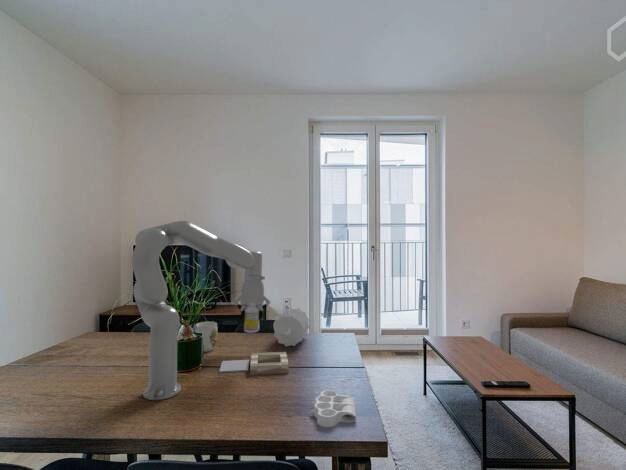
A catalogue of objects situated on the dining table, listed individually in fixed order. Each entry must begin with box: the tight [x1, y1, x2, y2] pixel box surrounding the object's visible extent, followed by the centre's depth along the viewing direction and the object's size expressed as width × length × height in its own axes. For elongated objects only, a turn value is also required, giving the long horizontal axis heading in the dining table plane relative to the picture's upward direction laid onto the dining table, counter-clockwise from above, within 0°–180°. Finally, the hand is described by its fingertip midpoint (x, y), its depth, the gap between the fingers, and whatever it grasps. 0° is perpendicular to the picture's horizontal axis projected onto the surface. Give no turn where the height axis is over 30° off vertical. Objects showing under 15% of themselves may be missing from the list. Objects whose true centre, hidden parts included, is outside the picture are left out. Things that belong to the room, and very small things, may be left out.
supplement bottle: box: [243, 303, 260, 334], centre depth 146 cm, size 7×7×13 cm
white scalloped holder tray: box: [309, 389, 357, 428], centre depth 107 cm, size 3×18×15 cm
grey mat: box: [218, 359, 250, 373], centre depth 145 cm, size 12×12×1 cm
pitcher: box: [195, 321, 219, 353], centre depth 169 cm, size 11×18×14 cm, turn 166°
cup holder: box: [249, 351, 290, 376], centre depth 146 cm, size 16×16×4 cm
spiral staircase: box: [272, 307, 310, 347], centre depth 182 cm, size 18×18×25 cm
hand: (251, 319), depth 146 cm, fingers closed on supplement bottle, 6 cm apart
